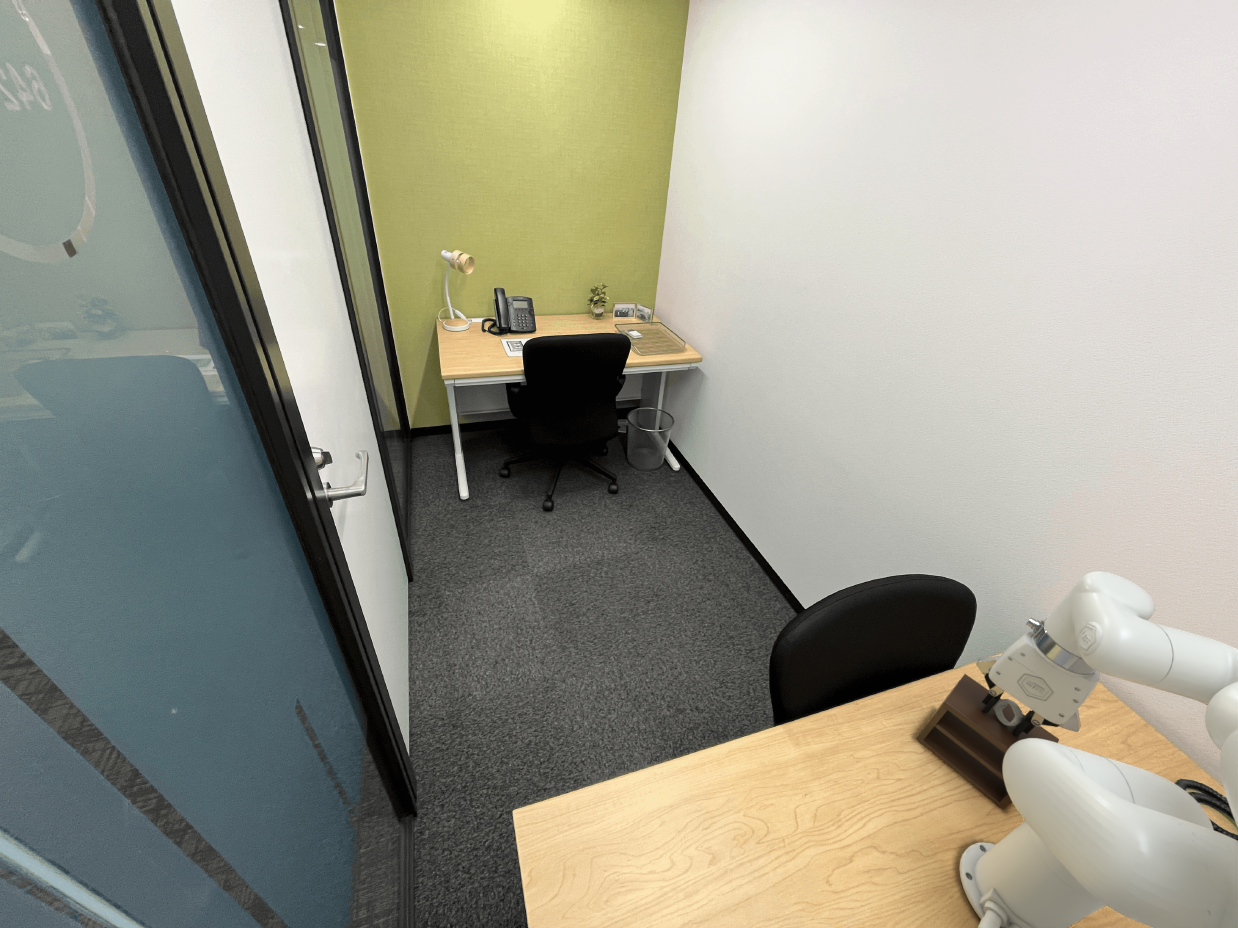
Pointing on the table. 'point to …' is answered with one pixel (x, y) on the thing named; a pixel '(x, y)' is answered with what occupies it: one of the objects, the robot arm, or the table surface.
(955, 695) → the rack
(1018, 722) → the grey ring
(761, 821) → the table surface
